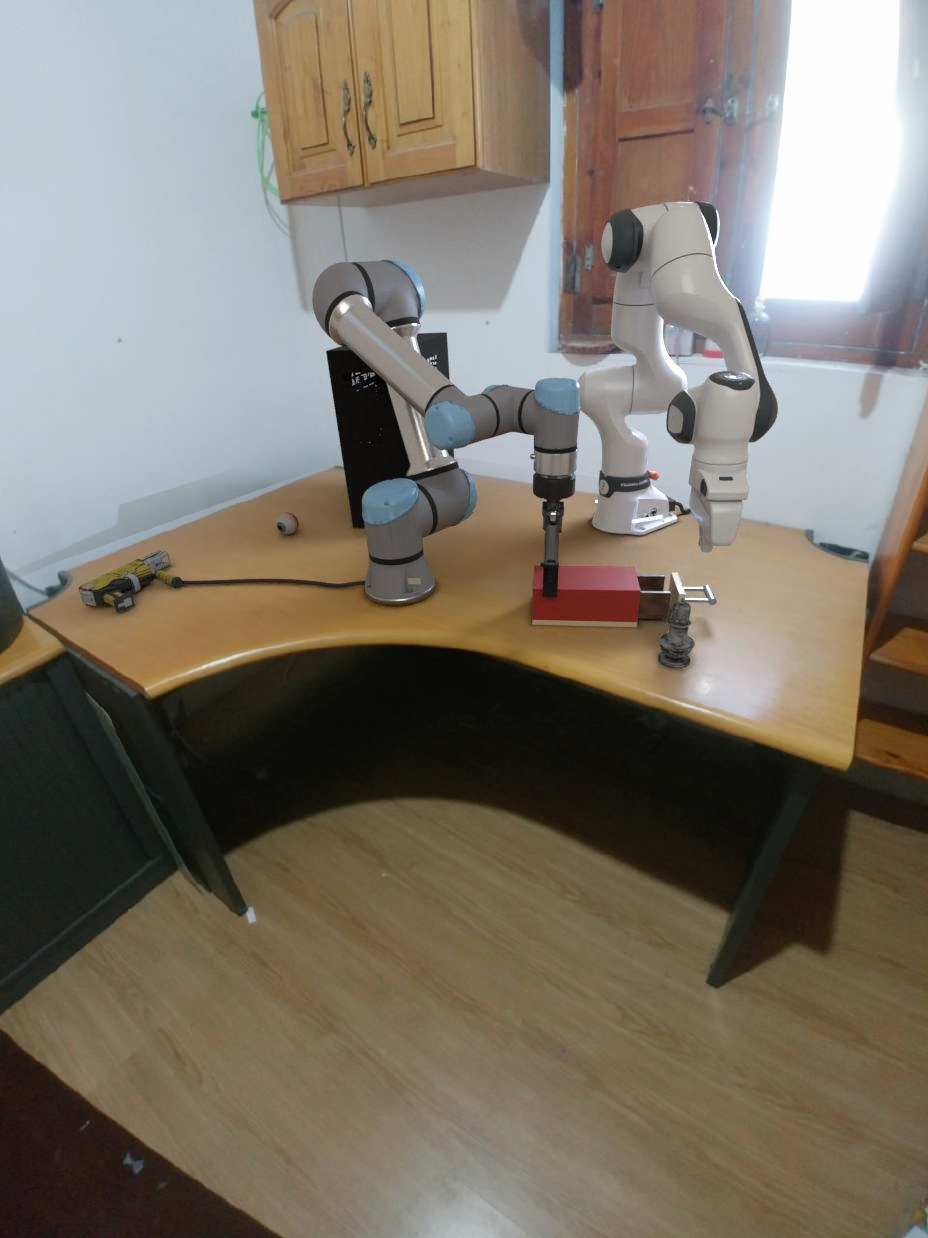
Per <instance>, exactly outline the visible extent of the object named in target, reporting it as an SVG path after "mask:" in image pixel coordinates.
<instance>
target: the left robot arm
mask: <svg viewBox="0 0 928 1238" xmlns="http://www.w3.org/2000/svg"><path fill="white" fill-rule="evenodd" d="M311 304H312V309H313V314H314V316H315V319H316V321H317V323H318V324H319V326H320V328H321V329H322V330H323V332H324V333H325V334H326V335H327V336H328V337H329V338H330V339H331V340H332V341H333V342H334V343H335V344H336V345H339V347H341V346H348V347H349V348H350V349H351V350H352V351H353V352H354V353H355V354H356V355H357V356H359V357H360V358H361V359H362V360H363V361H364V362H365V363H366V364H367V365H368V366H369V367H370V368H371V369H372V370H373V371H375V372H376V373H377V374H378V375H379V376H380V377H381V378H382V379H383V380H384V381H385V382H386V384H387V388H388V391H389V395H390V398H391V402H392V405H393V408H394V412H395V415H396V419H397V422H398V425H399V429H400V432H401V436H402V439H403V442H404V446H405V449H406V453H407V456H408V460H409V463H410V467H409V469H408V471H407V473H406V478H407V479H405V478H397V479H393V480H386V481H382V482H379V483H377V484H375V485H373V486H371V487H370V488H369V489H368V490H367V491H366V492H365V493H364V495H363V498H362V517H363V520H364V525H365V528H364V530H365V532H364V533H365V539H366V545H367V551H368V560H369V562H368V567H367V571H366V572H367V573H366V577H365V580H358V581H349V582H342V583H340V582H339V583H338V582H337V583H336V582H333V583H332V582H325V581H318V580H307V579H295V578H294V579H293V578H236V579H235V578H234V579H208V580H182V585H190V586H191V585H224V584H226V585H227V584H247V583H248V584H252V583H253V584H254V583H257V584H259V583H266V584H267V583H271V584H272V583H277V584H279V583H281V584H299V585H312V586H320V587H327V588H348V587H353V586H354V587H355V586H364V590H365V596H366V598H367V599H368V600H369V601H371V602H372V603H375V604H378V605H381V606H387V607H401V606H407V605H408V606H409V605H412V604H416V603H419V602H422V601H425V600H426V599H427V598H429V597H430V596H432V595H433V593H434V592H435V589H436V582H435V576H434V574H433V572H432V570H431V568H430V567H431V566H430V565H429V563H428V561H427V559H426V556H425V554H424V553H425V552H424V542H423V539H424V538H426V537H428V536H431V535H433V534H437V533H439V532H441V531H443V530H445V529H448V528H451V527H456V526H458V525H459V524H460V523H462V522H464V521H466V520H468V519H469V518H471V516H472V515H473V513H474V510H475V509H476V506H477V502H478V490H477V486H476V483H475V480H474V478H473V476H472V475H469V472H468V471H467V470H465V469H464V468H461V467H460V466H459V462H458V459H456V458H455V457H454V458H453V457H451V456H450V455H449V454H448V452H447V450H451V449H454V450H457V449H463V448H465V447H468V446H470V445H473V444H476V443H480V442H482V441H485V440H489V439H493V438H496V437H499V436H502V435H506V434H510V433H517V434H523V435H527V436H533V453H530V455H529V458H530V460H533V471H534V473H533V475H532V493H533V495H534V496H535V497H537V498H539V499H544V500H546V501H544V500H543V501H542V506H541V516H542V529H543V531H545V533H544V546H543V547H544V551H543V552H544V553H543V561H541V562H539V565H540V566H543V595H542V597H557V590H558V569H559V566H560V562H559V560H560V559H559V556H560V555H559V554H560V534H562V533H563V517H564V515H565V501H562V500H564V499H569V498H571V497H572V496H573V495H575V492H576V479H577V475H576V473H575V472H576V471H577V467H578V466H577V465H578V450H579V447H578V435H579V423H580V413H581V410H580V409H581V406H580V386H579V384H578V382H577V381H578V380H576V379H573V378H568V377H547V378H541V379H539V380H538V381H536V383H535V384H534V385H535V386H534V389H533V388H525V387H518V386H512V385H509V384H490V385H488V386H487V387H485V389H484V390H483V391H481V392H480V393H477V394H473V395H467V394H466V393H465V392H463V391H462V390H461V389H460V388H458V386H457V385H455V384H454V383H453V382H452V381H451V380H448V379H447V378H446V377H445V376H444V375H443V374H442V373H441V372H439V371H438V370H437V369H436V367H434V366H433V365H434V364H433V365H432V362H431V363H429V360H428V359H427V360H426V359H425V358H424V357H423V356H422V355H421V353H420V349H419V346H418V342H417V334H418V333H419V332H420V330H421V328H422V325H421V322H420V321H421V319H422V317H423V315H424V313H425V307H424V305H425V304H426V294H425V290H424V286H423V284H422V280H421V279H420V277H419V275H418V273H417V272H416V270H414V269H413V268H412V267H411V266H410V265H408V264H407V263H405V262H403V261H401V260H391V259H381V260H371V261H369V260H367V261H340V262H336V263H333V264H330V265H329V266H327V267H326V268H325V269H324V270H323V271H322V272H320V274H319V275H318V277H317V278H316V280H315V283H314V285H313V289H312V297H311ZM164 584H166V585H168V584H167V583H164Z"/></svg>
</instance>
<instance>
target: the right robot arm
mask: <svg viewBox="0 0 928 1238" xmlns="http://www.w3.org/2000/svg"><path fill="white" fill-rule="evenodd" d="M719 234H720V215H719V213H718V210H717V208H716V206H715V205H714V204H713V203H710V202H706V201H703V200H702V201H699V200H694V201H693V202H690V201H689V202H688V201H665V202H661V203H659V204H650V205H645V206H640V207H636V208H632V209H631V208H624V209H621V210H618V211H616V212H613V213H612V214H610V216H609V218H608V219H607V220H606V221H605V224H604V227H603V232H602V235H601V241H600V242H601V243H600V246H601V254H602V260H603V263H604V265H605V266H606V267H607V269H608V270H609V271H611V272H616V275H615V276H616V277H615V283H614V288H613V298H612V299H613V300H612V310H611V311H612V312H611V322H610V323H611V325H610V337H611V341H612V343H613V344H614V345H615V346H616V347H617V348H619V349H620V350H622V351H624V352H626V353H628V354H630V355H632V357H633V356H634V357H635V359H636V360H635V363H634V364H632V365H617V366H616V365H614V366H611V365H610V366H601V367H597V368H596V367H595V368H592V369H587V370H585V371H583V372H582V373H581V375H580V376H579V377H578V379H577V380H576V381H577V382H578V384H579V386H580V406H581V409H580V412H582V413H583V414H584V415H586V417H588V418H589V419H590V420H591V421H592V422H593V424H594V426H595V427H596V429H597V431H598V434H599V436H600V437H599V438H600V443H601V468H600V470H599V474H598V492H599V493H598V498H597V499H595V500H594V503H595V504H596V507H595V511H594V514H593V517H592V520H591V525H592V526H593V527H594V528H595V529H597V530H599V531H601V532H605V533H611V534H623V535H625V534H626V535H632V536H633V535H634V536H645V535H646V534H650V533H652V532H654V531H657V530H660V529H662V528H665V527H668V526H670V525H672V524H675V523H677V522H678V516H677V515H676V514H675V513H674V512H675V511H676V507H679V512H680V513H682V514H685V515H686V514H688V513H691V512H692V514H693V516H694V518H695V520H696V522H697V523H698V537H699V539H698V546H699V548H700V550H701V552H702V553H711V552H712V551H713V547H730V546H731V545H733V543H734V541H735V539H736V537H737V533H738V529H739V526H740V522H741V517H742V513H743V505H744V503H743V501H746V500H748V498H749V493H750V487H749V484H748V480H747V473H748V472H747V467H748V460H749V449H748V447H749V444H750V443H756V442H758V441H759V440H760V439H762V438H763V437H764V436H765V435H766V434H767V433H768V432H769V431H770V430H771V428H772V427H773V426H774V424H775V422H776V420H777V418H778V414H779V413H778V412H779V404H778V400H777V397H776V394H775V392H774V390H773V388H772V386H771V385H770V383H769V380H768V379H767V377H766V373H765V371H764V367H763V365H762V362H761V358H760V355H759V352H758V349H757V345H756V342H755V339H754V336H753V331H752V329H751V325H750V323H749V319H748V317H747V314H746V311H745V308H744V306H743V304H742V302H741V301H740V299H739V298H737V297H736V296H735V295H734V294H732V293H731V292H730V291H729V290H728V288H727V286H726V285H725V284H724V282H723V280H722V278H721V276H720V274H719V270H718V267H717V261H716V255H715V254H716V253H715V248H716V246H717V243H718V239H719ZM664 322H665V323H667V324H668V325H670V326H672V327H673V328H677V329H679V330H683V331H688V332H691V333H694V334H696V335H699V336H702V337H704V338H706V339H708V340H710V341H712V342H713V343H714V344H715V345H716V346H717V347H718V348H719V350H720V352H721V354H722V357H723V360H724V364H725V367H726V370H721V371H717V372H713V373H711V374H710V375H708V376H707V377H706V379H705V381H704V382H703V383H701V384H699V385H696V386H693V387H689V386H688V385H689V384H688V379H687V376H686V374H685V372H684V370H683V369H681V367H679V366H678V365H677V364H676V363H675V362H674V360H672V358H671V357H670V356H669V354H668V351H667V349H666V346H665V342H664ZM660 414H666V420H665V421H666V422H665V423H666V424H665V426H666V432H667V433H668V434H669V436H670V437H671V439H673V440H674V441H675V442H677V443H679V444H682V445H692V446H693V447H694V449H693V452H692V456H691V462H690V468H689V476H688V485H689V487H690V494H689V500H688V502H689V503H688V505H689V508H687V509H684V505H683V504H682V503H681V502H679V501H677V500H676V499H673V498H671V497H670V496H668V495H666V494H664V493H663V492H661V491H660V490H659V489H658V488H656V487H655V486H654V485H652V483H651V480H653V481H658V479H659V478H660V473H659V472H657V471H654V470H651V471H649V470H648V469H647V466H648V458H649V457H648V456H649V446H650V443H649V440H648V437H646V435H645V434H644V433H643V432H641V431H639V430H638V429H636V428H634V427H631V426H629V425H628V424H627V423H626V422H625V421H626V420H625V419H626V417H627V416H637V415H638V416H639V415H641V416H643V415H660Z"/></svg>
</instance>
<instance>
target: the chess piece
mask: <svg viewBox="0 0 928 1238" xmlns="http://www.w3.org/2000/svg"><path fill="white" fill-rule="evenodd" d="M684 601H685V599H684V598H682V599H681V601H679V602H676V603H674V604H673V607H672V611H671V616H670V618H668V619H667V622H668V625H669V626H668V630H667V632H665V633H663V634H661V635H660V636H659V637H658V643H659V647H660V649H661V651H660V653H658V655H657V656H658V657H657V658H658V660H659V662H660V663H661V664H663V665H664V666H667V667H669V668H684V667H687V666H689V665H690V663H691V658H690V656H689V655H690V653H691V652H692V650H693V649H695V646H696V641H695V640H694V639H693V638H692V637H691V636H689V634H688V633H689V627H690V626H691V625H692V621H691V620H690V617H691V611H692V607H691V604H690V603H689V602H684Z"/></svg>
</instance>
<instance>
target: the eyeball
mask: <svg viewBox="0 0 928 1238" xmlns="http://www.w3.org/2000/svg"><path fill="white" fill-rule="evenodd" d="M299 525H300V522H299V519H298V517H297V516H296V515H295V514H294V513H292V512H287V511H286V512H282V513H280V514H279V515H278V516H277V517H276V520H275V527H276V529H277V530H278V531H279V532H280V533H281V534H282V535H285V536H286V535H287V536H289V535H293V534H295V533H296V532H297V531H298V529H299Z"/></svg>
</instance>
